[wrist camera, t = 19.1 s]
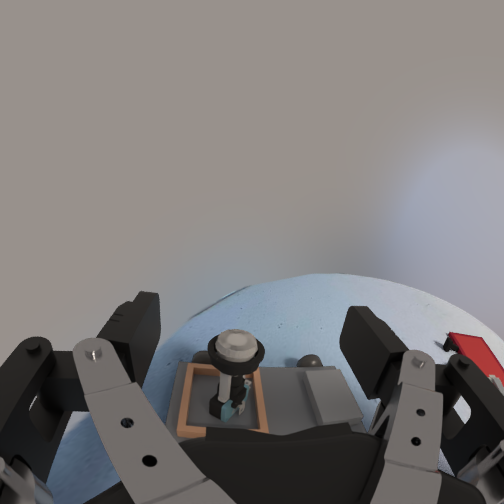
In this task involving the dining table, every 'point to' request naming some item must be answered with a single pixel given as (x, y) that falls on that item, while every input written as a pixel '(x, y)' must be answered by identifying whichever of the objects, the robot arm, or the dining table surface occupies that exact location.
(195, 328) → the dining table surface
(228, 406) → the push button
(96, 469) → the dining table surface
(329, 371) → the chassis
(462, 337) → the red board with handle
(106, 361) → the robot arm
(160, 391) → the dining table surface
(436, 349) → the dining table surface
